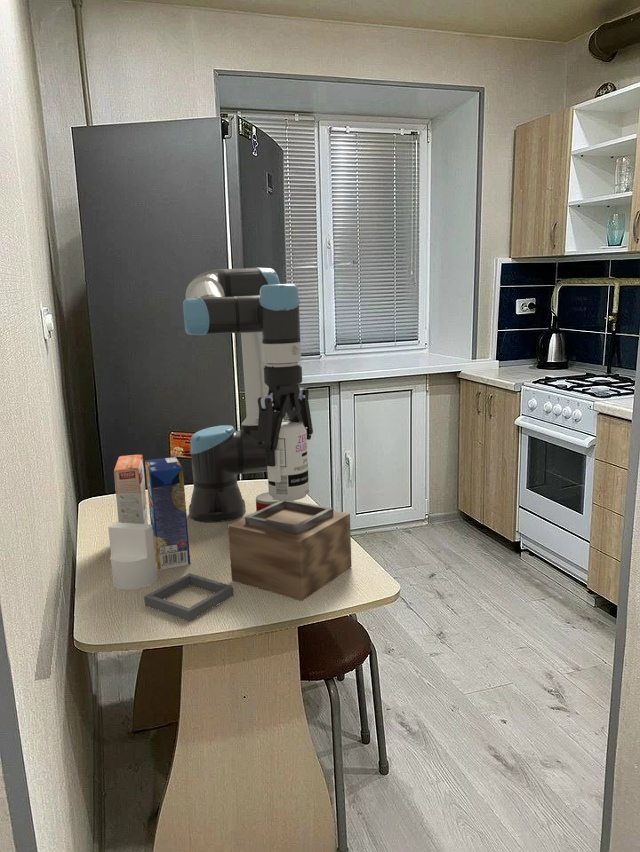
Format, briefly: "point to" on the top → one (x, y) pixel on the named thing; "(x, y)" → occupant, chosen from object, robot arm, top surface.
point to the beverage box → (168, 512)
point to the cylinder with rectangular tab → (132, 555)
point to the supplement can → (291, 463)
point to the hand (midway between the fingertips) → (287, 475)
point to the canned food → (264, 501)
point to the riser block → (290, 548)
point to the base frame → (220, 595)
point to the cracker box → (130, 490)
